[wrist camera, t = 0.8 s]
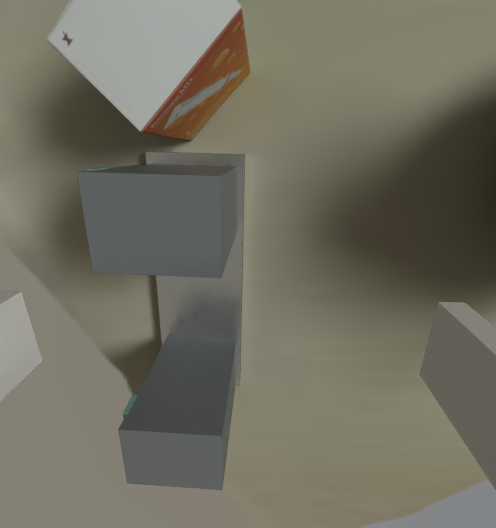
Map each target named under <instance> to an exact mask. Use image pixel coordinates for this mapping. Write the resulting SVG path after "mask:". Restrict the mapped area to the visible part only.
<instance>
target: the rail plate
mask: <svg viewBox="0 0 496 528" xmlns="http://www.w3.org/2000/svg"><path fill="white" fill-rule="evenodd" d="M145 153H146V164H183V165H216V166H238V231H237V233H236V236H235V239H234V242H233V245H232V248H231V251H230V254H229V257H228V260H227V263H226V266H225V269H224V272H223V275H222V278H204V277H181V276H158V275H156V282H157V294H158V306H159V317H160V329H161V341H162V346H163V344H164V342H165V340H166V339H167V340H186V341H205V342H225V343H236V370H235V386H239V385H240V372H241V325H242V278H243V232H244V185H245V154H210V153H175V152H145Z"/></svg>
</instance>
